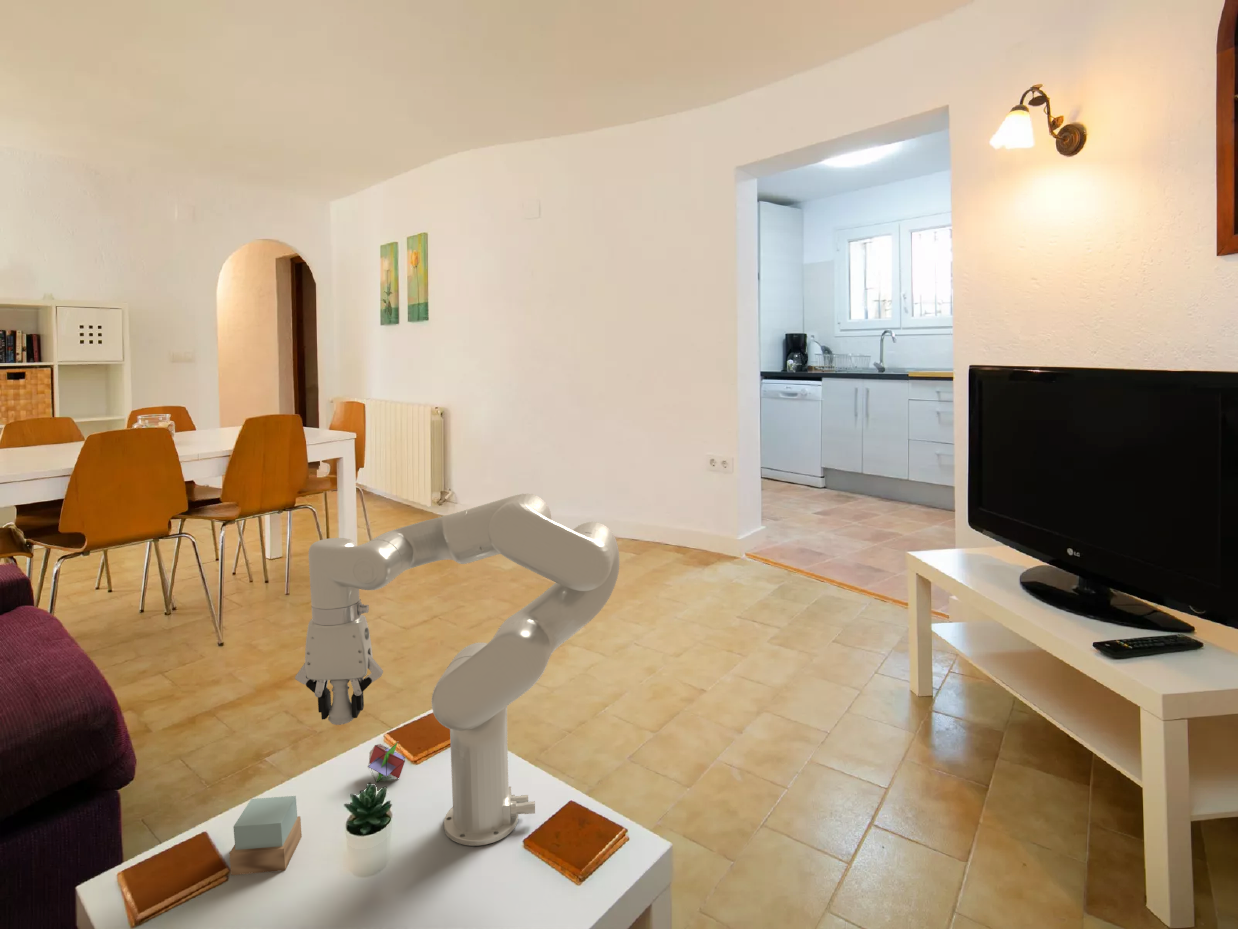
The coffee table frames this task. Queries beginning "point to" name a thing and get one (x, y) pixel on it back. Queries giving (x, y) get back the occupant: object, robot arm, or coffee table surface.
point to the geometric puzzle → (386, 761)
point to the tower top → (265, 822)
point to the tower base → (266, 855)
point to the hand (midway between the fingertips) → (341, 713)
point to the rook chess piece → (340, 703)
